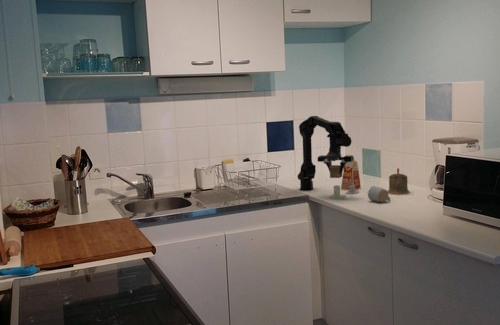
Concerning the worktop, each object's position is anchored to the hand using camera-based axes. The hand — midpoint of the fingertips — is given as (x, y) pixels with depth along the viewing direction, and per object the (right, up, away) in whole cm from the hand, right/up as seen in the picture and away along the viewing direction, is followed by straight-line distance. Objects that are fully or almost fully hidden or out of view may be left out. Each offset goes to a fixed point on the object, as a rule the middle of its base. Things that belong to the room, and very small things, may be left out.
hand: (336, 174), depth 278 cm
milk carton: (+12, -9, +20) cm, 25 cm away
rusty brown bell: (+36, -10, +7) cm, 38 cm away
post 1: (+1, -12, +2) cm, 12 cm away
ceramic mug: (+20, -14, -14) cm, 28 cm away
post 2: (+11, -11, +9) cm, 18 cm away
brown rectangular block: (0, -2, 0) cm, 2 cm away
